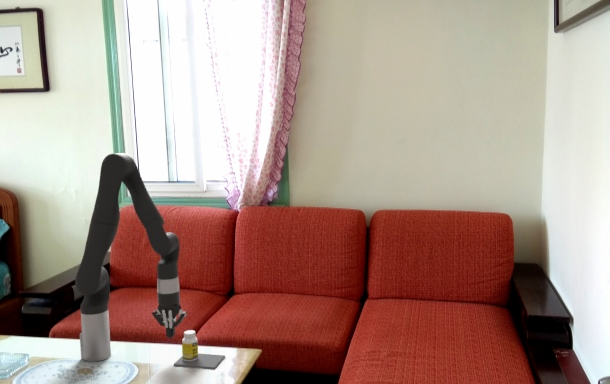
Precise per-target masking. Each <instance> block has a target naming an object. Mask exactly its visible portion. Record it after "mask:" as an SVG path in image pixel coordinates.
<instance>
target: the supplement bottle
mask: <svg viewBox="0 0 610 384" xmlns="http://www.w3.org/2000/svg"><path fill="white" fill-rule="evenodd" d="M198 343H199V340H198V338H197V336H196V331H195V330H193V329H188V330H185V331H183V338H182V341H181V347H182V348H181V350H182V351H181V352H182V353H181V354H182V356H183V360H184V361H195V360H196V359H197V358H198V354H199V348H198V347H199V345H198ZM182 356H181V357H182Z"/></svg>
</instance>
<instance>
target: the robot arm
mask: <svg viewBox="0 0 610 384" xmlns="http://www.w3.org/2000/svg"><path fill="white" fill-rule="evenodd" d="M102 160H103V161H102V163H101V165H100V172H99V179H98V181H99V183H98V190H97V195H96V198H95V201H94V206H93V207H94V208H93V212H92V215H91V219H90V222H89V229H88V233H87V238H86V242H85V245H84V246H85V247H84V251H83V256H82V259H81V261H80V265H79V267H78V270H77V273H76V276H75V280H74V284H75V289H76V291H77V292H78V293H79V294H80V295H81V296H84V297H83V300H82V302H81V303H80V317H81V320H80V321H81V332H80V333H79V343H80V346H79V347H80V359H82V360H84V361H86V362H90V363H93V362H100V361H103V360H106V359H108V358H110V357H111V356H112V350H111V349H112V348H111V334H110V333H111V331H110V318H109V303H110V299H111V298H110V296H111V294H110V293H111V291H110V290H111V289H110V286H111V285H110V284H111V283H110V276H109V273H108V270H107V269H106V268H105V267H104V261H105V259H106V256H107V254H108V252H109V250H110V248H111V246H112V245H113V242H114V241H115V238H116V235H117V233H118V229H119V225H120V220H121V214H120V213H121V212H120V204H119V195H120V190H121V186H122V183H123V184H124V186H125V187H126V189H127V191H128V193H129V196H130V198H131V201H132V205H133V209H134V211H135V215H136V216H137V218H138V219H139V222H140V223H141V224H142V226H143V228H144V229H145V232H146V235H147V238H148V241H149V244H150V246H151V249H152V250H153V251H154V252H155V253H156V254H157V255H158V256H160V259H159V261H158V262H157V266H156V268H157V269H156V271H157V272H156V274H157V282H156V286H157V287H156V291H157V303H158V305H157V309H155V310H154V311H152V312H151V314H152V316H153V318H154V319H155V320H156V322H157V323H159V326H160V327H164V328H165V334H166V335H165V336H166V337H167V339H173V338H174V337H175V335H176V327H178V326H179V325H181V323H182V321H183V320H184V319H185V317H187V314H188V312H187V311H184V310H182V305H181V304H180V303H181V297H180V296H181V293H180V279H179V269H178V262H179V257H180V256H179V255H180V246H181V245H180V243H181V242H180V239H179V236H177V234H175V233H174V232H168V231H167V232H166V231H165V228H164V225H165V220H164V218H163V216H162V214H161V213H160V211H159V209H158V208H157V207H156V204H155V203H154V201H153V199H152V198H151V195H150V194H149V192H148V190H147V187H146V186H145V183H144V181H143V178H142V176H141V173H140V171H139V168H138V166H137V164H136V161H135V159H134V158H133V156H131V155H130V154H128V153H126V152H117V153H114V152H113V153H110V154H108V155H106V156H104V159H102ZM177 316H178V318H177Z"/></svg>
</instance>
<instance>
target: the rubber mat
mask: <svg viewBox="0 0 610 384" xmlns="http://www.w3.org/2000/svg"><path fill="white" fill-rule="evenodd" d="M224 357H225V358H226V355H222V354H221V355H220V354H211V353H208V354H207V353H198V358H197V359H196V360H195V361H184V360H183V356H181V357H180V358H178V360H176V361H175V362H174V363H173V366H174V367H185V368H196V369H208V370H209V369H210V370H215V369H216V368H217V367H218V366H219V364H220V363H222V361H223V360H224V359H225V358H224ZM223 358H224V359H223Z"/></svg>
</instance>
